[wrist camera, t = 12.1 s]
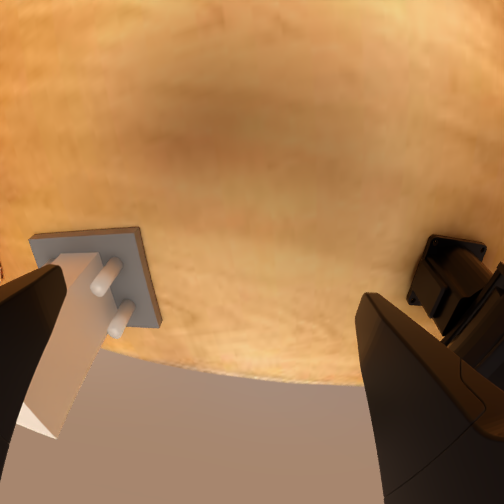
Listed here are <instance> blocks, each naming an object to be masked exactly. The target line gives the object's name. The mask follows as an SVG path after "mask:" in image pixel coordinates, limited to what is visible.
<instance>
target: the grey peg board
mask: <svg viewBox="0 0 504 504" xmlns="http://www.w3.org/2000/svg"><path fill="white" fill-rule="evenodd" d="M29 243H30V246H31V249H32V252H33V255H34V257H35V260H36V263H37V266H38V268H41V267H43V266H45V265H48V264H51V263H52V262H53V261H54V260H55V259H56V258H57V257H58V256H59V255H60V254H61V253H92V252H99V254H100V258H101V261H102V264H103V269H102V270H101V271H100V273H99V274H98V275H97V277H96V278H95V279H94V281H93V282H92V283H91V285H90V290H91V292H92V293H93V294H94V295H96V296H98V297H102V296H104V294H105V293H106V291H107V290H108V288H109V287H110V289H111V292H112V295H113V298H114V301H115V304H116V307H117V309H118V310H117V312H116V314H115V316H114V318H113V319H112V321H111V323H110V325H109V327H108V328H107V333H108V334H109V335H110V336H111V337H113V338H116V339H118V338H120V337H121V335H122V333H123V331H124V329H125V327H143V328H160V325H161V323H162V318H161V315H160V311H159V308H158V304H157V300H156V297H155V293H154V289H153V285H152V281H151V277H150V273H149V269H148V265H147V261H146V257H145V253H144V248H143V244H142V239H141V235H140V230H139V227H134V228H117V229H101V230H87V231H73V232H59V233H47V234H35V235H33V236H32V237H31V238H30V239H29Z"/></svg>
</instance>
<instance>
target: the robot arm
mask: <svg viewBox="0 0 504 504" xmlns="http://www.w3.org/2000/svg"><path fill="white" fill-rule="evenodd" d="M435 240H436V242H435V243H433V242H434V241H435ZM481 248H482V249H481ZM486 249H487V247H486V245H485V244H484V243H481V242H475V241H469V240H463V239H457V238H451V237H445V236H439V235H432V236H431V237H430V238H429V240H428V243H427V246H426V248H425V251H424V254H423V257H422V260H421V261H420V264H419V266H418V269H417V272H416V274H415V277H414V280H413V282H412V285H411V289H410V291H409V293H408V296H407V299H406V300H407V302H408V304H409V305H418V306H423V308H424V309H425V311H426V313H427V314H428V316H429V318H433V320H434V322H435V324H436V325H437V327H438V329H439V331H440V333H441V334H442V336H445V337H444V338H443V339H442V340H441V341H439V340H438V339H436V338H435V337H434V336H433V335H431V334H430V333H429V332H427V331H426V330H425V329H424V328H422V327H421V326H420V325H419V324H417V323H416V322H415V321H413V320H412V319H411V318H410V317H408V316H407V315H406V314H404V313H403V312H402V311H401V310H399V309H398V308H397V307H395V306H394V305H393V304H391V303H390V302H389V301H388V300H386V299H385V298H384V297H382V296H381V295H380V294H378V293H369V292H366V293H364V294H363V296H362V298H361V301H360V304H359V307H358V310H357V313H356V316H355V326H356V334H357V342H358V351H359V360H360V367H361V372H362V377H363V382H364V386H365V391H366V395H367V401H368V405H369V410H370V416H371V421H372V426H373V431H374V437H375V443H376V449H377V455H378V460H379V466H380V473H381V481H382V487H383V495H384V497H385V498H384V504H504V264H503V263H502V262H501V261H500V263H499V264H498V266H497V267H496V268H497V270H496V271H495V273H494V274H492V273H491V272H490V270H489V269H488V268H487V267H486V266H485V265H484V264H483V263H482V260H483V258H484V255H485V253H486ZM66 294H67V286H66V282H65V278H64V275H63V271H62V268H61V267H60V266H59V265H54V264H48V265H45V266H43V267H41V268H39V269H36V270H34V271H32V272H30V273H28V274H25V275H23V276H21V277H19V278H17V279H15V280H12V281H10V282H8V283H6V284H4V285H2V286H0V480H1V476H2V471H3V467H4V463H5V460H6V456H7V452H8V449H9V443H10V441H11V437H12V434H13V431H14V428H15V425H16V422H17V419H18V416H19V413H20V410H21V407H22V404H23V402H24V399H25V396H26V394H27V391H28V388H29V386H30V383H31V381H32V378H33V376H34V373H35V371H36V368H37V366H38V364H39V361H40V359H41V357H42V354H43V352H44V350H45V348H46V345H47V343H48V341H49V339H50V336H51V334H52V332H53V329H54V326H55V324H56V321H57V318H58V315H59V313H60V310H61V307H62V305H63V302H64V300H65V297H66ZM413 298H414V299H413ZM411 299H413V300H411Z"/></svg>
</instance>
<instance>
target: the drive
mask: <svg viewBox="0 0 504 504" xmlns="http://www.w3.org/2000/svg"><path fill="white" fill-rule="evenodd" d="M51 264H54V265H59V266H60V267H61V268H62V271H63V275H64V278H65V282H66V286H67V294H66V297H65V300H64V302H63V305H62V307H61V310H60V313H59V315H58V318H57V321H56V324H55V326H54V329H53V332H52V334H51V336H50V339H49V341H48V343H47V345H46V348H45V350H44V352H43V354H42V357H41V359H40V361H39V364H38V366H37V368H36V371H35V373H34V376H33V378H32V381H31V383H30V386H29V388H28V391H27V394H26V396H25V399H24V402H23V404H22V407H21V410H20V413H19V416H18V419H17V422H16V423H17V424H19V425H21V426H24V427H26V428H28V429H31V430H33V431H36V432H39V433H41V434H44V435H46V436H49V437H52V438H55V439H57V438H58V436H59V433H60V431H61V429H62V427H63V424H64V422H65V420H66V418H67V415H68V413H69V411H70V409H71V406H72V404H73V402H74V400H75V398H76V396H77V394H78V391H79V389H80V387H81V385H82V383H83V381H84V379H85V377H86V375H87V373H88V371H89V369H90V367H91V365H92V363H93V361H94V359H95V357H96V355H97V353H98V351H99V349H100V347H101V345H102V343H103V342H104V340H105V338H106V336H107V334H108V333H107V328H108V327H109V325H110V323H111V321H112V319H113V318H114V316H115V314H116V312H117V310H118V309H117V307H116V304H115V301H114V298H113V295H112V292H111V289H110V287H109V288H108V290H107V291H106V293H105V294H104V296H102V297H98V296H96V295H94V294H93V293H92V292H91V290H90V285H91V283H92V282H93V281H94V279H95V278H96V277H97V275H98V274H99V273H100V271H101V270H102V269H103V264H102V261H101V258H100V254H99V252H92V253H61V254H60V255H59V256H58V257H57V258H56V259H55V260H54V261H53V262H52V263H51Z"/></svg>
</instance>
